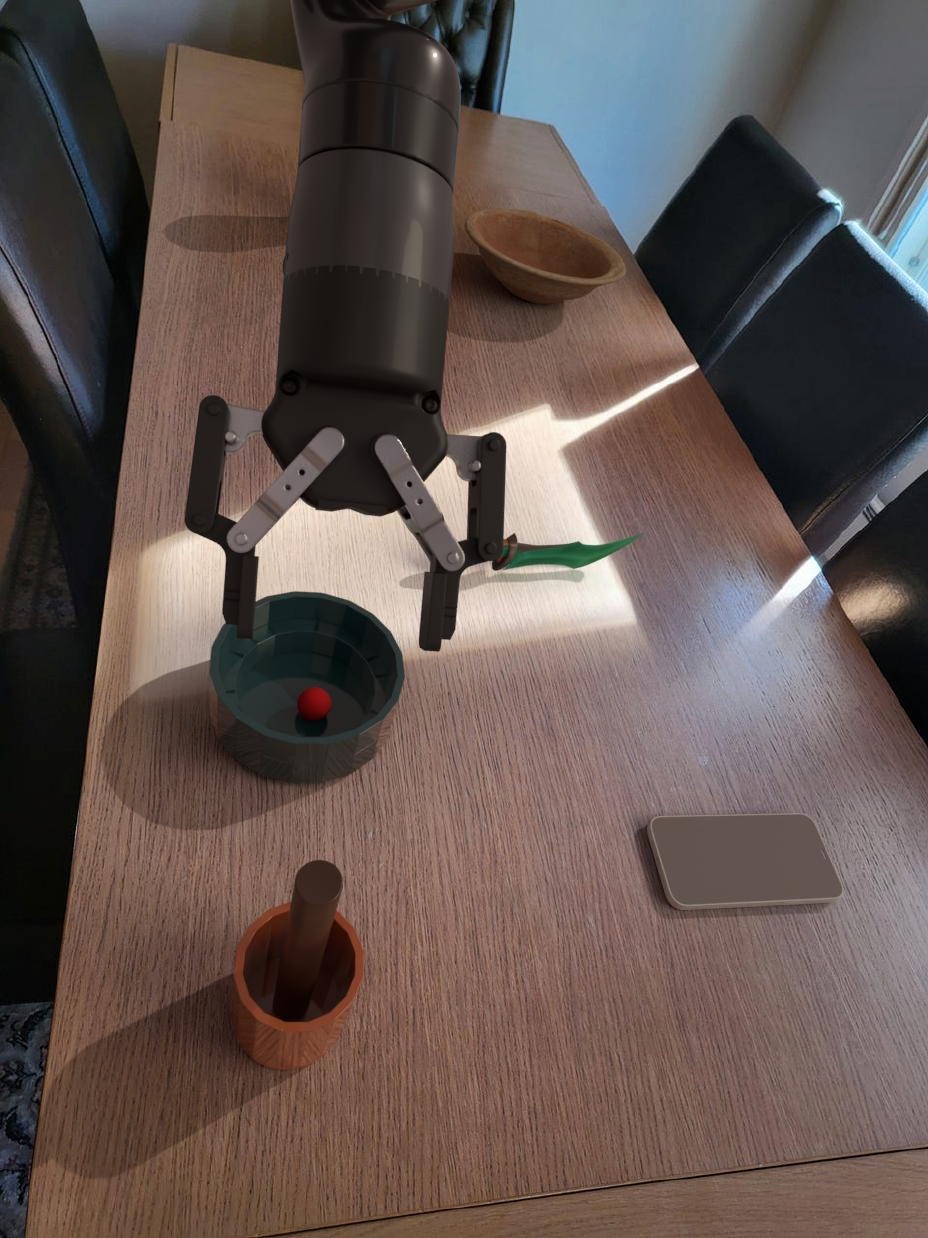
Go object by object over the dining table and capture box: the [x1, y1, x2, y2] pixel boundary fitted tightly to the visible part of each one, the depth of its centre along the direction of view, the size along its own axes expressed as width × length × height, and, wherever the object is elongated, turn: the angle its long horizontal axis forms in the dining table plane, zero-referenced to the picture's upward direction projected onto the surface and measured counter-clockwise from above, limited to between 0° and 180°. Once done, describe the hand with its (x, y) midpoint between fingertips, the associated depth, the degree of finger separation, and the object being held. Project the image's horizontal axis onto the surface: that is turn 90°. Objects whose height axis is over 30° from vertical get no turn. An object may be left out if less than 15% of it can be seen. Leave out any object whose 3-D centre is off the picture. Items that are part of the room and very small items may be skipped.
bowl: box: [464, 207, 627, 305], centre depth 120 cm, size 24×24×8 cm
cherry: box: [297, 687, 331, 721], centre depth 64 cm, size 3×3×3 cm
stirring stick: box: [273, 859, 344, 1022], centre depth 44 cm, size 2×2×18 cm
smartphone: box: [646, 812, 844, 911], centre depth 65 cm, size 7×1×15 cm
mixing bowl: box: [208, 590, 406, 784], centre depth 64 cm, size 14×14×6 cm
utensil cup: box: [230, 901, 365, 1071], centre depth 48 cm, size 7×7×8 cm
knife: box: [491, 532, 645, 572], centre depth 81 cm, size 21×2×5 cm, turn 105°
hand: (339, 643), depth 39 cm, fingers open, 8 cm apart
